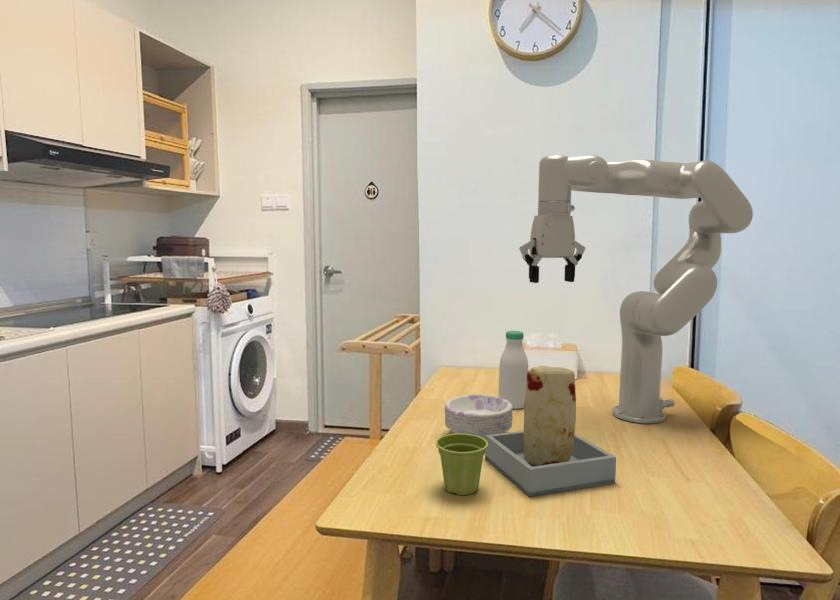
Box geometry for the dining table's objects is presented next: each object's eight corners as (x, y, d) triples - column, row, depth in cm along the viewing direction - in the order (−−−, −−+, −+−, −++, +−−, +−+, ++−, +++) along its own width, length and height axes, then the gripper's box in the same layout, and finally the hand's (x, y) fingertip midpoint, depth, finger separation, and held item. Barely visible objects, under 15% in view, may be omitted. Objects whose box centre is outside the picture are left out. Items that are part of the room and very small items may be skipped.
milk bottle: (529, 409, 151) (531, 334, 148) (500, 409, 151) (501, 334, 148) (524, 401, 158) (527, 329, 156) (496, 401, 158) (498, 329, 156)
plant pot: (444, 503, 98) (445, 454, 97) (428, 480, 107) (429, 435, 106) (495, 496, 101) (496, 449, 100) (475, 475, 110) (476, 431, 109)
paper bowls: (435, 444, 126) (435, 409, 125) (455, 422, 140) (455, 391, 139) (504, 453, 121) (505, 417, 120) (517, 430, 135) (518, 397, 134)
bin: (561, 448, 124) (561, 426, 123) (615, 483, 107) (616, 457, 106) (484, 458, 118) (485, 435, 117) (529, 497, 101) (530, 469, 100)
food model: (521, 469, 111) (523, 367, 108) (524, 456, 117) (526, 360, 115) (573, 475, 108) (577, 371, 106) (573, 461, 115) (577, 363, 112)
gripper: (576, 210, 142) (573, 280, 144) (513, 209, 137) (512, 281, 139) (594, 209, 135) (591, 282, 137) (529, 208, 130) (527, 284, 132)
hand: (551, 282), depth 138 cm, fingers open, 9 cm apart
